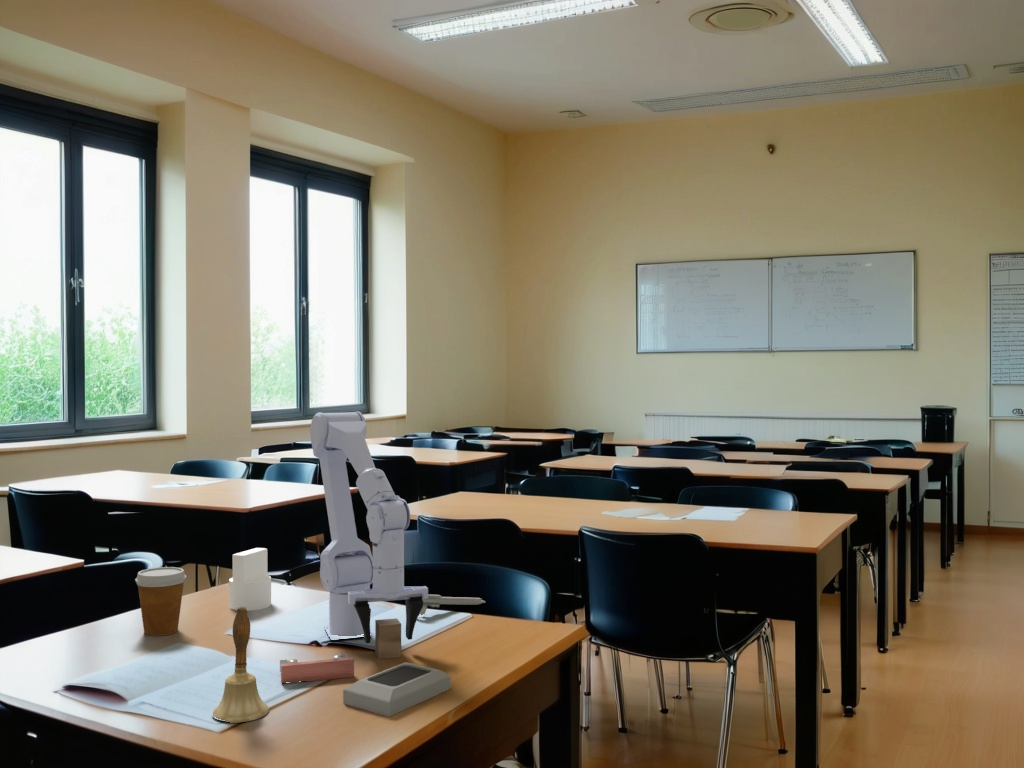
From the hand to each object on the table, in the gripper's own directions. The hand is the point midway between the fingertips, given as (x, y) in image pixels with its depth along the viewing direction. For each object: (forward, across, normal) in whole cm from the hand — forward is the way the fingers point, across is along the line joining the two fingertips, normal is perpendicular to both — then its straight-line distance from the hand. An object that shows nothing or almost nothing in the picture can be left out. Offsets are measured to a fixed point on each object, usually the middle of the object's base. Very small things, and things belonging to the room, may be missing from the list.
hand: (388, 640), depth 169 cm
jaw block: (+3, 0, 0) cm, 3 cm away
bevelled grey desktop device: (+3, -3, -22) cm, 22 cm away
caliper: (+3, +19, +27) cm, 33 cm away
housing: (+3, -14, -7) cm, 16 cm away
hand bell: (+3, -27, -22) cm, 35 cm away
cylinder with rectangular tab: (+3, -22, +45) cm, 50 cm away
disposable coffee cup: (+3, -40, +29) cm, 50 cm away
